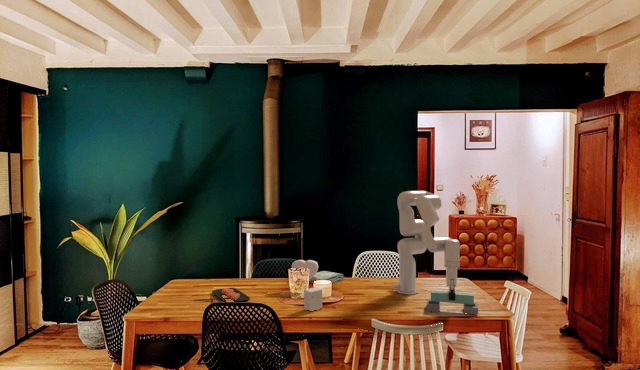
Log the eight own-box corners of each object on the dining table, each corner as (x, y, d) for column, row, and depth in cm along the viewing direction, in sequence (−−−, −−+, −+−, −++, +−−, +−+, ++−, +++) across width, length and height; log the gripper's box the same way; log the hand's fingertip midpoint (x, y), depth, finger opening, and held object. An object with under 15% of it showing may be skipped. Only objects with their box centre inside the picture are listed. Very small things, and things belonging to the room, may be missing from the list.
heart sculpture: (291, 290, 274) (291, 261, 273) (293, 288, 279) (293, 259, 278) (317, 291, 272) (316, 261, 271) (318, 289, 276) (318, 259, 276)
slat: (430, 301, 235) (430, 292, 235) (430, 299, 238) (431, 290, 238) (473, 304, 230) (473, 295, 229) (473, 302, 233) (473, 294, 232)
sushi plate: (252, 302, 253) (251, 295, 253) (198, 311, 238) (198, 303, 238) (233, 290, 278) (233, 283, 278) (184, 297, 263) (183, 291, 263)
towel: (301, 281, 299) (301, 273, 298) (326, 276, 312) (326, 268, 312) (319, 286, 285) (319, 278, 284) (344, 281, 298) (344, 273, 298)
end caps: (426, 311, 233) (426, 304, 233) (426, 306, 242) (426, 299, 242) (478, 315, 226) (478, 308, 226) (476, 309, 235) (476, 302, 235)
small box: (316, 306, 242) (315, 287, 242) (322, 309, 238) (322, 289, 237) (303, 309, 237) (303, 289, 237) (310, 312, 233) (310, 292, 232)
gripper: (444, 260, 242) (444, 294, 243) (444, 266, 226) (444, 303, 227) (459, 260, 240) (459, 295, 241) (460, 267, 224) (460, 304, 225)
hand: (451, 299), depth 234 cm, fingers closed on slat, 3 cm apart
